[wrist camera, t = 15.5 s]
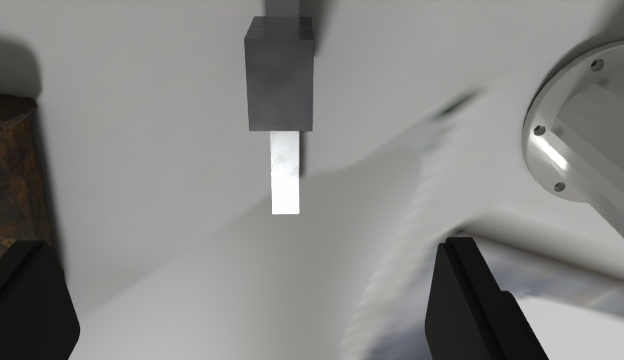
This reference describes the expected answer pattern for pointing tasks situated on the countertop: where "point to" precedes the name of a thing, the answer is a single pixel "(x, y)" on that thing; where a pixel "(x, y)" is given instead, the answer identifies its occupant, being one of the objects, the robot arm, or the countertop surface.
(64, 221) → the countertop surface
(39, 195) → the hand tool
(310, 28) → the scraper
